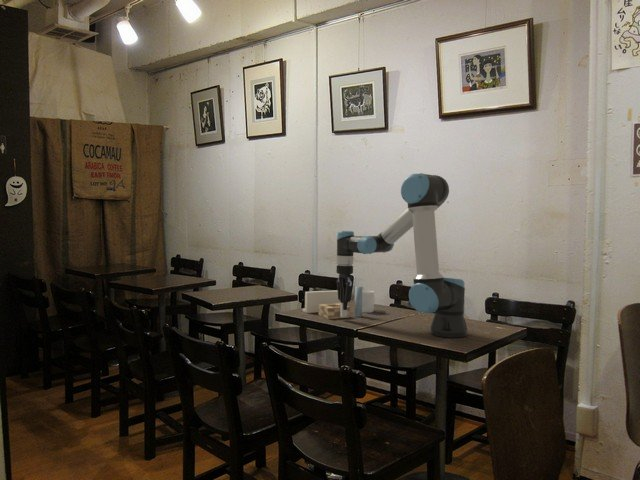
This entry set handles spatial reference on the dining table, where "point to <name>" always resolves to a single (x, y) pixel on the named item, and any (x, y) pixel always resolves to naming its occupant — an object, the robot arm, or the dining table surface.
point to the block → (332, 311)
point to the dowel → (358, 301)
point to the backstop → (319, 299)
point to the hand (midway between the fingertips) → (343, 316)
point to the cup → (367, 301)
